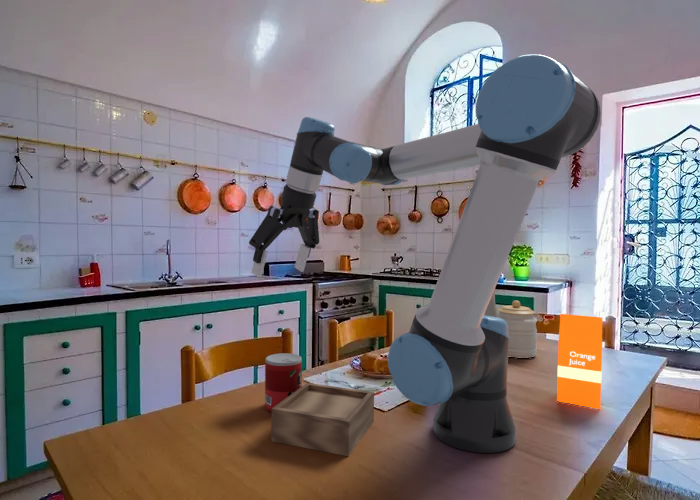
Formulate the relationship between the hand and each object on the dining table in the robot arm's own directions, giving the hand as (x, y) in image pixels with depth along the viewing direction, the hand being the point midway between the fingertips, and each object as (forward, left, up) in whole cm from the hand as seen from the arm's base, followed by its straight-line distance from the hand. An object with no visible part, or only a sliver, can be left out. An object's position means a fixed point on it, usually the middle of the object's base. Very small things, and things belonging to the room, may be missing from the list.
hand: (278, 272), depth 103 cm
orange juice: (-68, -20, -29) cm, 77 cm away
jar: (-55, -58, -29) cm, 85 cm away
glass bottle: (-45, -22, -29) cm, 58 cm away
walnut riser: (-19, +16, -29) cm, 38 cm away
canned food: (-6, +9, -29) cm, 31 cm away
